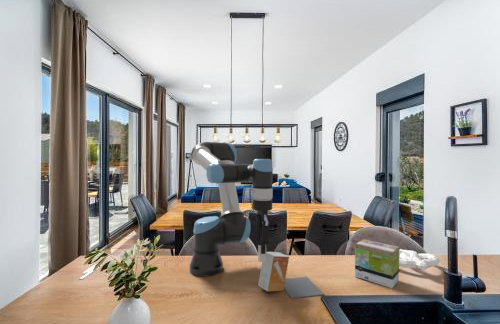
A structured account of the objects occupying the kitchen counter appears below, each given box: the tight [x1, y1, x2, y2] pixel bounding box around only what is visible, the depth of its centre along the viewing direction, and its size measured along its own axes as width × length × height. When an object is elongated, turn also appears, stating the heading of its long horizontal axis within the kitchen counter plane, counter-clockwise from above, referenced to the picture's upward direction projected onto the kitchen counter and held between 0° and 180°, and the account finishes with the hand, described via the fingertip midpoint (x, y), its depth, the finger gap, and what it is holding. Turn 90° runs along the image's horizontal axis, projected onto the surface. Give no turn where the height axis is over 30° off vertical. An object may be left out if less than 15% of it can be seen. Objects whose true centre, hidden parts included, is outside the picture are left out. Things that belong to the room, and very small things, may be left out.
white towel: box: [399, 248, 441, 271], centre depth 126 cm, size 28×24×6 cm
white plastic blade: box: [78, 264, 103, 280], centre depth 115 cm, size 5×15×1 cm, turn 0°
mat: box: [284, 276, 325, 299], centre depth 102 cm, size 15×13×1 cm
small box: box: [258, 251, 290, 292], centre depth 100 cm, size 8×6×13 cm
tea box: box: [354, 238, 400, 289], centre depth 110 cm, size 15×10×15 cm, turn 47°
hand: (262, 261), depth 99 cm, fingers closed
